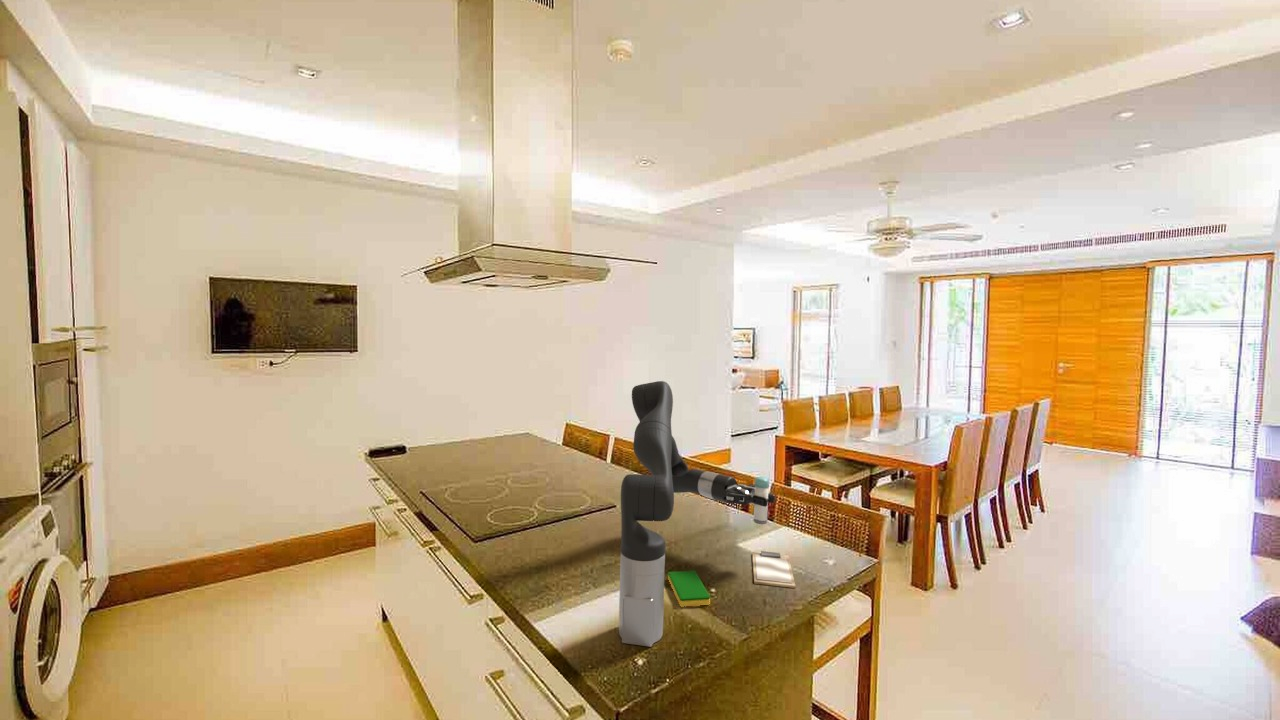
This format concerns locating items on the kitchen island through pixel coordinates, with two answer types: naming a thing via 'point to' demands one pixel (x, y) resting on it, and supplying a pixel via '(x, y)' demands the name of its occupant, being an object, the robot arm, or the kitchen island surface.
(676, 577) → the dish sponge
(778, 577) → the clipboard
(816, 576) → the kitchen island surface
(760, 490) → the bottle
